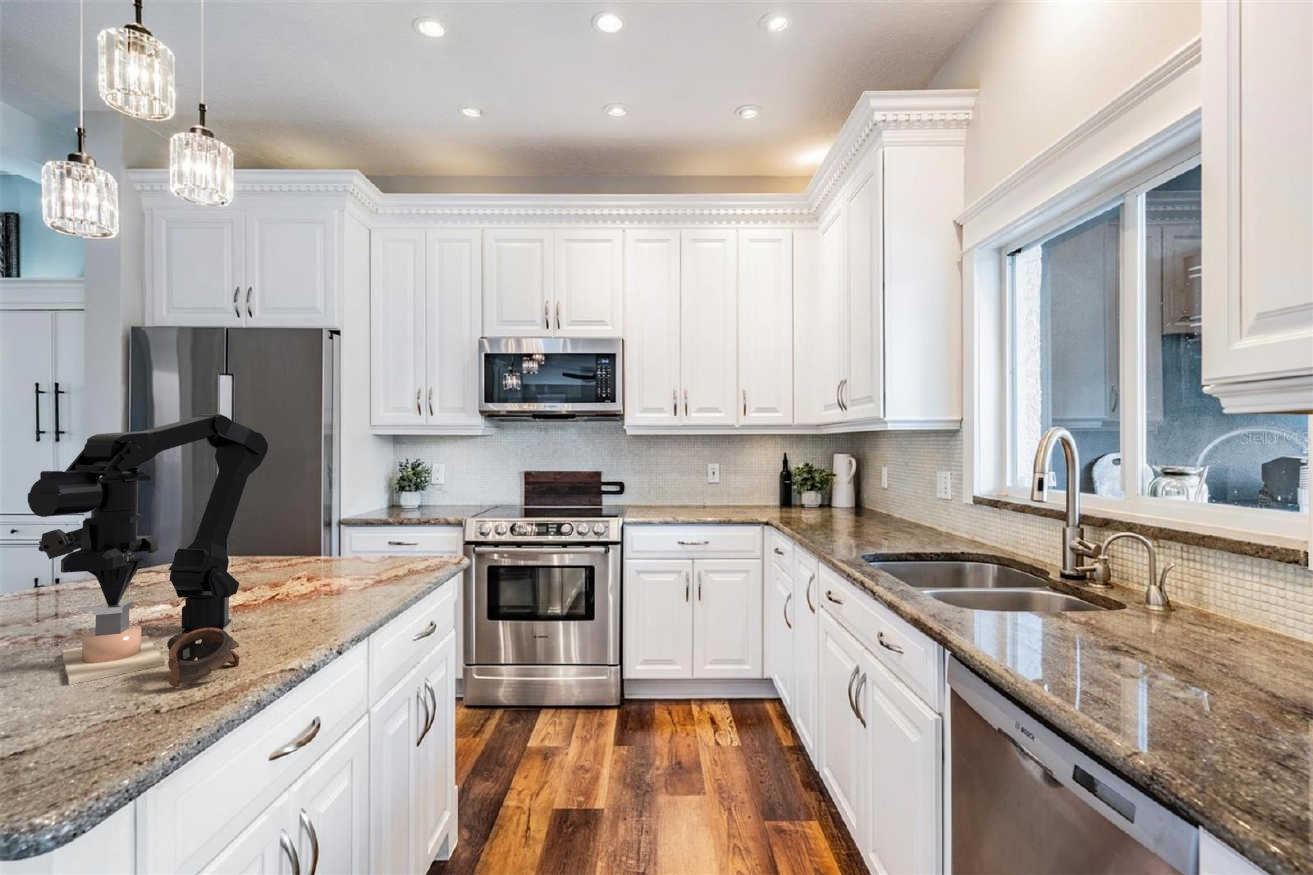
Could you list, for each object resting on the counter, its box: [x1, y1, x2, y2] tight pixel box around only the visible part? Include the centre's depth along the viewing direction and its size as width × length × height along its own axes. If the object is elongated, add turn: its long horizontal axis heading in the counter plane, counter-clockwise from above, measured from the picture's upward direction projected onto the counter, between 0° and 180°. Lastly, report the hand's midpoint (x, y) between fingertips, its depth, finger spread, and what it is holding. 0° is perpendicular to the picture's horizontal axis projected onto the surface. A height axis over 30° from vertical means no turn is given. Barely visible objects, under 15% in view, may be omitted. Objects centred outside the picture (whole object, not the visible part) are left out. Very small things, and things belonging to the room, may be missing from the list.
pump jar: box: [81, 609, 142, 663], centre depth 99 cm, size 7×7×7 cm
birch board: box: [61, 635, 165, 686], centre depth 99 cm, size 18×11×1 cm, turn 47°
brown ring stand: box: [166, 628, 240, 688], centre depth 92 cm, size 12×10×8 cm
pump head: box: [77, 600, 133, 616], centre depth 99 cm, size 6×4×4 cm, turn 112°
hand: (113, 605), depth 99 cm, fingers closed, pressing on pump head
